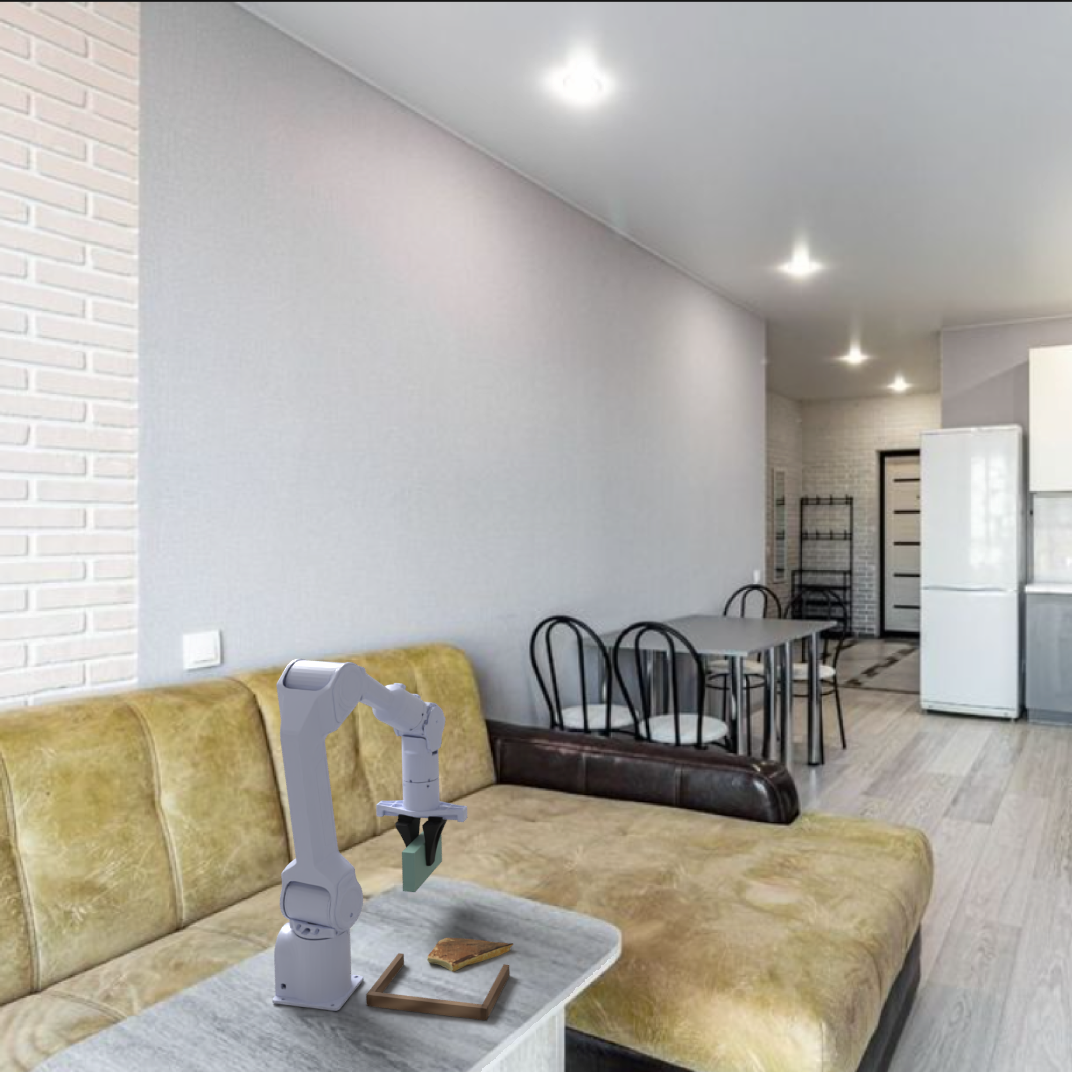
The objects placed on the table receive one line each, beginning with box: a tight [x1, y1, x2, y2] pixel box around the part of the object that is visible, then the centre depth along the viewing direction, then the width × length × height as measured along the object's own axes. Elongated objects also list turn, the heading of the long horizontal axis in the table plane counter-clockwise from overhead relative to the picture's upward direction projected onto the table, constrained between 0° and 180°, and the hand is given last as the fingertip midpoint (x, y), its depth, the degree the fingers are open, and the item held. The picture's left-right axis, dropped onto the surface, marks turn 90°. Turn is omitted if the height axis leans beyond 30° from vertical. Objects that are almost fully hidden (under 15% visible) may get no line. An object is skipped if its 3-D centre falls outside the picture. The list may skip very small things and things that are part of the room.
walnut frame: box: [365, 952, 510, 1021], centre depth 118 cm, size 16×11×2 cm
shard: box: [426, 937, 514, 973], centre depth 126 cm, size 11×8×2 cm
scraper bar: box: [401, 831, 443, 893], centre depth 139 cm, size 12×2×6 cm, turn 166°
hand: (422, 863), depth 139 cm, fingers closed on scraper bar, 2 cm apart
